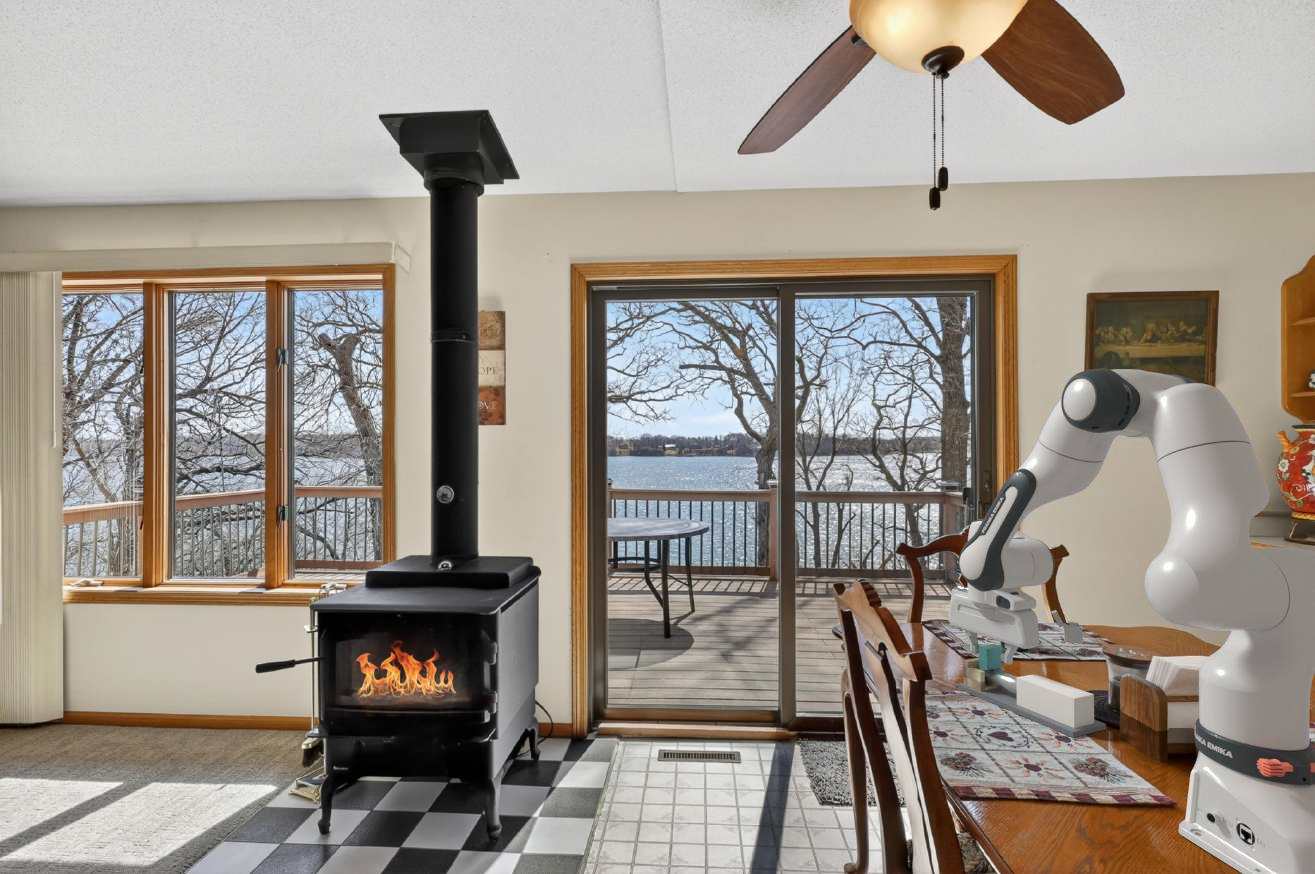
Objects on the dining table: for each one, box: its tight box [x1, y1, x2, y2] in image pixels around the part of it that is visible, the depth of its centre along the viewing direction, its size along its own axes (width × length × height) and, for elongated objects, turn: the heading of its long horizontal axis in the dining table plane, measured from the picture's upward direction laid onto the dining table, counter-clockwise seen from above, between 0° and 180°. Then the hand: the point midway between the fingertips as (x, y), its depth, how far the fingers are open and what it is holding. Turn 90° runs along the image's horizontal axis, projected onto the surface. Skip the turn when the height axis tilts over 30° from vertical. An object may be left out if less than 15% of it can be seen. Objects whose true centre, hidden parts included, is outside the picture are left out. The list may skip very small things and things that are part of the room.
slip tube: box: [977, 643, 1018, 694], centre depth 136 cm, size 15×4×8 cm, turn 22°
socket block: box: [962, 657, 1005, 691], centre depth 143 cm, size 4×7×5 cm, turn 112°
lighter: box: [1050, 609, 1084, 644], centre depth 178 cm, size 7×2×8 cm, turn 63°
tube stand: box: [957, 673, 1107, 738], centre depth 133 cm, size 26×9×6 cm, turn 22°
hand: (990, 657), depth 141 cm, fingers open, 6 cm apart
